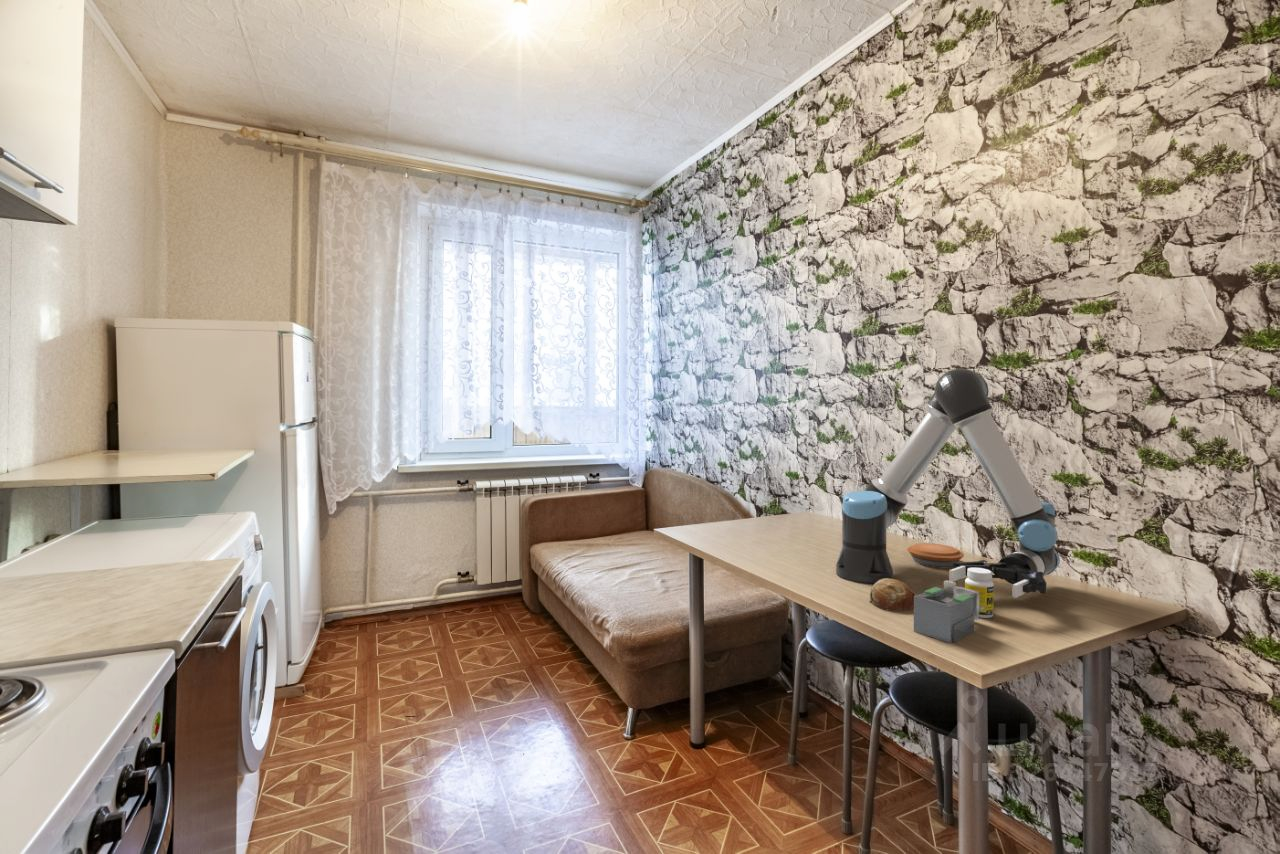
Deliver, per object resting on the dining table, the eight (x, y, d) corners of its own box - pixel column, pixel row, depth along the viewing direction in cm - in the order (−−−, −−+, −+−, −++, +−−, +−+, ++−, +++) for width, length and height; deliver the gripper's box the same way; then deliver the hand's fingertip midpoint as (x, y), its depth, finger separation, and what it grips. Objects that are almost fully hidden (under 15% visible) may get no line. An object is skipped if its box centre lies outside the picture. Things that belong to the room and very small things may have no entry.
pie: (960, 573, 160) (960, 556, 159) (902, 564, 169) (902, 548, 169) (967, 561, 172) (967, 545, 172) (912, 553, 181) (912, 538, 181)
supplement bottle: (991, 620, 124) (991, 575, 123) (962, 614, 127) (962, 570, 127) (995, 613, 128) (996, 569, 128) (967, 607, 132) (967, 565, 132)
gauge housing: (935, 620, 124) (936, 585, 124) (974, 631, 118) (974, 595, 117) (912, 630, 118) (913, 594, 118) (951, 643, 112) (952, 605, 112)
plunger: (955, 612, 126) (955, 572, 126) (978, 618, 122) (979, 577, 122) (933, 622, 120) (933, 580, 120) (957, 629, 116) (957, 586, 116)
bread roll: (870, 611, 140) (857, 582, 140) (907, 594, 140) (894, 565, 140) (886, 626, 130) (872, 596, 130) (927, 608, 130) (912, 577, 130)
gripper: (1080, 595, 130) (1044, 615, 117) (968, 570, 150) (927, 585, 138) (1081, 564, 129) (1044, 580, 117) (968, 543, 150) (927, 555, 138)
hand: (981, 583), depth 128 cm, fingers open, 13 cm apart
